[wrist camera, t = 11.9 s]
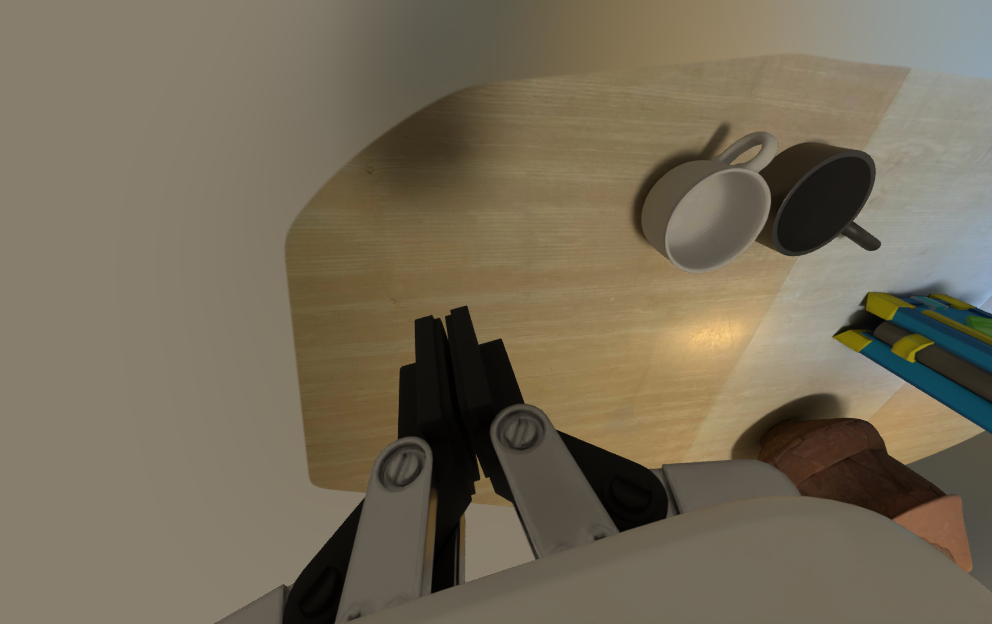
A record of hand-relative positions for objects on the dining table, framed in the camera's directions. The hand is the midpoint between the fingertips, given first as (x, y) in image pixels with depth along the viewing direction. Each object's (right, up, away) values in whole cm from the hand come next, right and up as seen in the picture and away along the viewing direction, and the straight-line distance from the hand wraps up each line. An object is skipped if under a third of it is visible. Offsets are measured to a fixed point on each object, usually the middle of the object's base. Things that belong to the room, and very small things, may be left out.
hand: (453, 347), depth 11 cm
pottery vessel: (+66, -26, +68) cm, 99 cm away
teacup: (+23, +15, +29) cm, 40 cm away
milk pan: (+41, +15, +34) cm, 56 cm away
